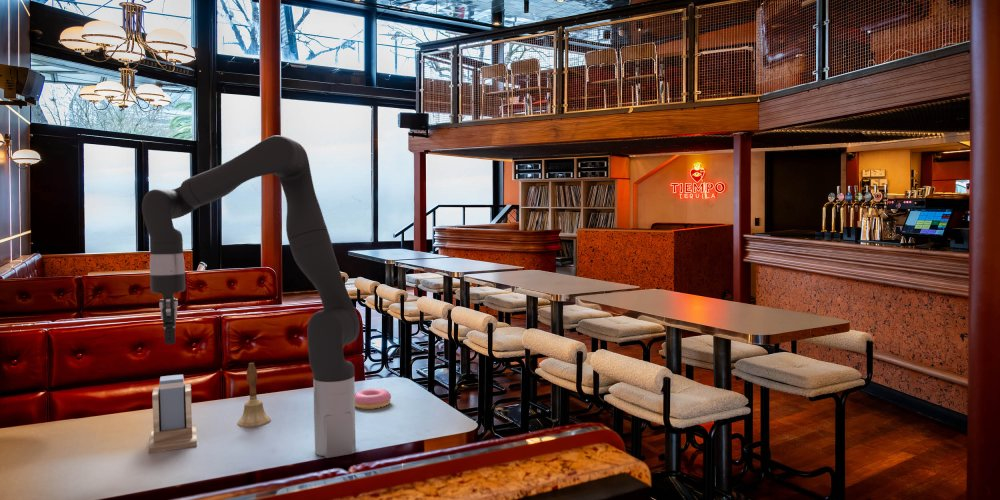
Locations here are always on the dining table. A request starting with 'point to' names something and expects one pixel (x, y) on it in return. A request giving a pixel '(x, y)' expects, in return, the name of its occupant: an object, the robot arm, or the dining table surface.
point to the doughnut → (372, 398)
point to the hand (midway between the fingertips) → (170, 343)
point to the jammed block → (172, 402)
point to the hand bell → (253, 403)
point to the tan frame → (174, 436)
